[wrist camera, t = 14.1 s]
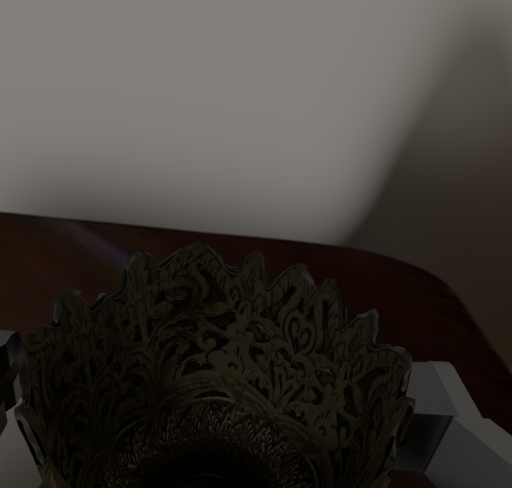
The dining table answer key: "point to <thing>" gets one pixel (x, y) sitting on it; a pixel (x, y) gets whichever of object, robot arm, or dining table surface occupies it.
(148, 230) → the dining table surface
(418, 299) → the dining table surface
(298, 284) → the cup
